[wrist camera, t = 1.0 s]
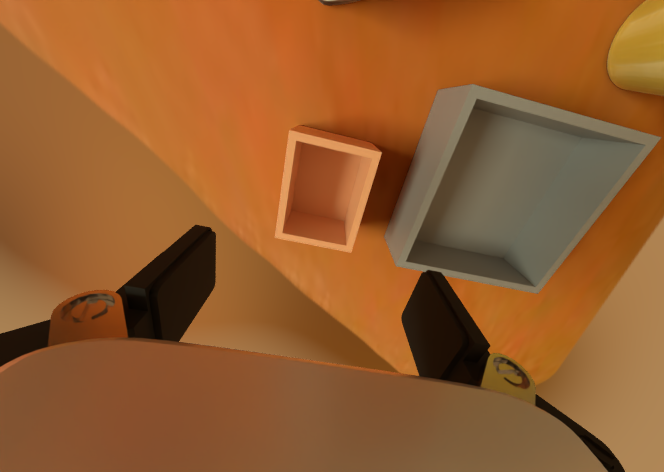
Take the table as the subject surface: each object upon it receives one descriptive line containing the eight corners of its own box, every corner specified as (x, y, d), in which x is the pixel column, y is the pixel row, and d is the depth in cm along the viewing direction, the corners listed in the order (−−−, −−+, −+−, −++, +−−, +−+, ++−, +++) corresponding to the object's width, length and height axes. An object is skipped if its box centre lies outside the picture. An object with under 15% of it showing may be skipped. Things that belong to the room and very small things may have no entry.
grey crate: (438, 89, 22) (472, 84, 16) (586, 130, 23) (661, 137, 18) (384, 236, 28) (395, 266, 23) (501, 260, 30) (537, 293, 25)
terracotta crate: (299, 124, 23) (289, 130, 18) (370, 142, 24) (382, 152, 18) (286, 212, 27) (274, 237, 22) (347, 224, 28) (351, 252, 22)
